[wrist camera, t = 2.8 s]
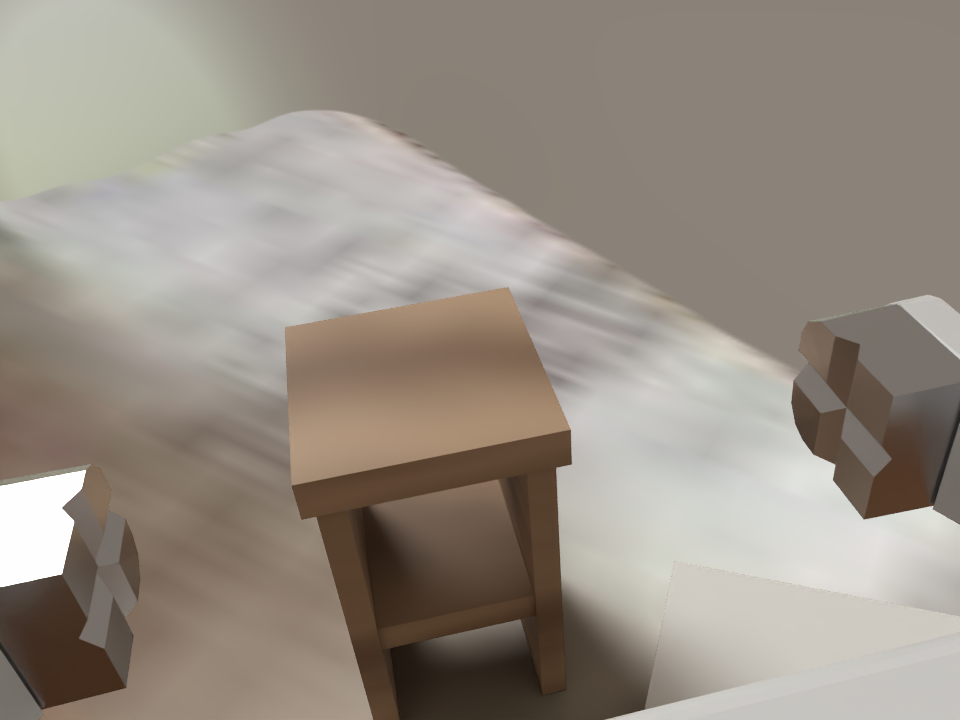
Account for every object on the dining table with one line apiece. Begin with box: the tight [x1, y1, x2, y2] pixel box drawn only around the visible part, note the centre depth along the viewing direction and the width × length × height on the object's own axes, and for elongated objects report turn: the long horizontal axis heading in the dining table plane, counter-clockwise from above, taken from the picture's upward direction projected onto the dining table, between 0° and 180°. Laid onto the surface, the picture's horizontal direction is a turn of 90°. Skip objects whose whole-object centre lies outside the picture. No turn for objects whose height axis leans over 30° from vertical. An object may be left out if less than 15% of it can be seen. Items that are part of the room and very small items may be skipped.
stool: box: [285, 287, 572, 720], centre depth 28 cm, size 7×7×12 cm
